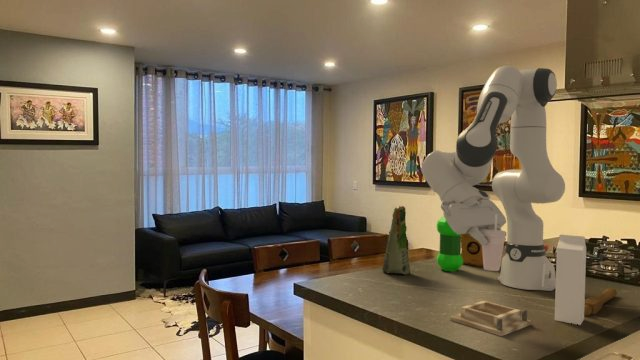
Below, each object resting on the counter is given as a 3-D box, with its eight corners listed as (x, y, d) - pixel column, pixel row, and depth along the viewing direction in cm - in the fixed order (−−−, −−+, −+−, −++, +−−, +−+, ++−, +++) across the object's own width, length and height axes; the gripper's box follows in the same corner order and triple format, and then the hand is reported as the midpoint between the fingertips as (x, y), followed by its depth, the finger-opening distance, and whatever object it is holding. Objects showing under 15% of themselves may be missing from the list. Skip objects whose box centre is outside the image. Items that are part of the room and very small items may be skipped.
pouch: (401, 268, 181) (403, 204, 180) (418, 275, 169) (420, 206, 169) (375, 270, 177) (377, 204, 176) (391, 277, 165) (393, 206, 165)
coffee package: (487, 268, 183) (489, 212, 183) (456, 264, 191) (458, 210, 191) (495, 265, 191) (497, 211, 191) (465, 260, 199) (467, 209, 198)
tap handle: (617, 288, 145) (590, 306, 124) (617, 298, 146) (590, 318, 124) (606, 286, 148) (578, 304, 126) (606, 296, 148) (577, 315, 126)
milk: (558, 315, 126) (561, 233, 125) (584, 319, 122) (586, 235, 122) (554, 320, 121) (556, 235, 120) (580, 325, 117) (583, 237, 117)
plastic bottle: (449, 274, 173) (451, 206, 172) (430, 268, 182) (431, 204, 181) (469, 271, 178) (471, 205, 177) (449, 266, 187) (450, 203, 186)
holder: (481, 310, 128) (481, 298, 128) (531, 324, 117) (531, 310, 117) (450, 320, 119) (450, 306, 119) (501, 336, 108) (501, 321, 108)
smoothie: (507, 273, 114) (509, 215, 114) (479, 271, 115) (482, 214, 115) (502, 267, 121) (504, 213, 120) (476, 265, 122) (478, 212, 121)
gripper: (445, 194, 116) (479, 238, 109) (490, 192, 129) (524, 232, 122) (430, 210, 120) (462, 254, 112) (476, 207, 133) (507, 246, 125)
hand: (494, 242), depth 117 cm, fingers closed on smoothie, 6 cm apart
